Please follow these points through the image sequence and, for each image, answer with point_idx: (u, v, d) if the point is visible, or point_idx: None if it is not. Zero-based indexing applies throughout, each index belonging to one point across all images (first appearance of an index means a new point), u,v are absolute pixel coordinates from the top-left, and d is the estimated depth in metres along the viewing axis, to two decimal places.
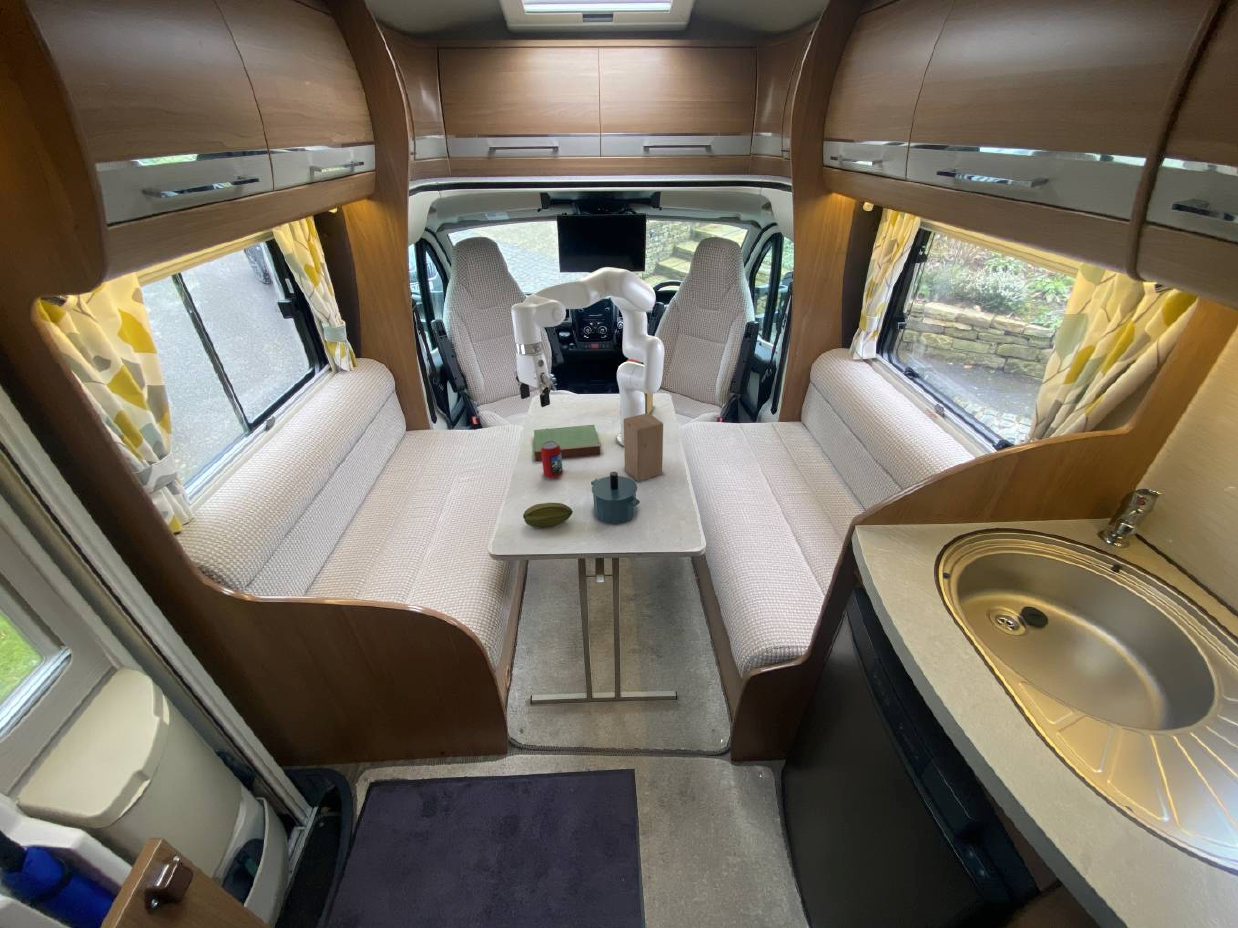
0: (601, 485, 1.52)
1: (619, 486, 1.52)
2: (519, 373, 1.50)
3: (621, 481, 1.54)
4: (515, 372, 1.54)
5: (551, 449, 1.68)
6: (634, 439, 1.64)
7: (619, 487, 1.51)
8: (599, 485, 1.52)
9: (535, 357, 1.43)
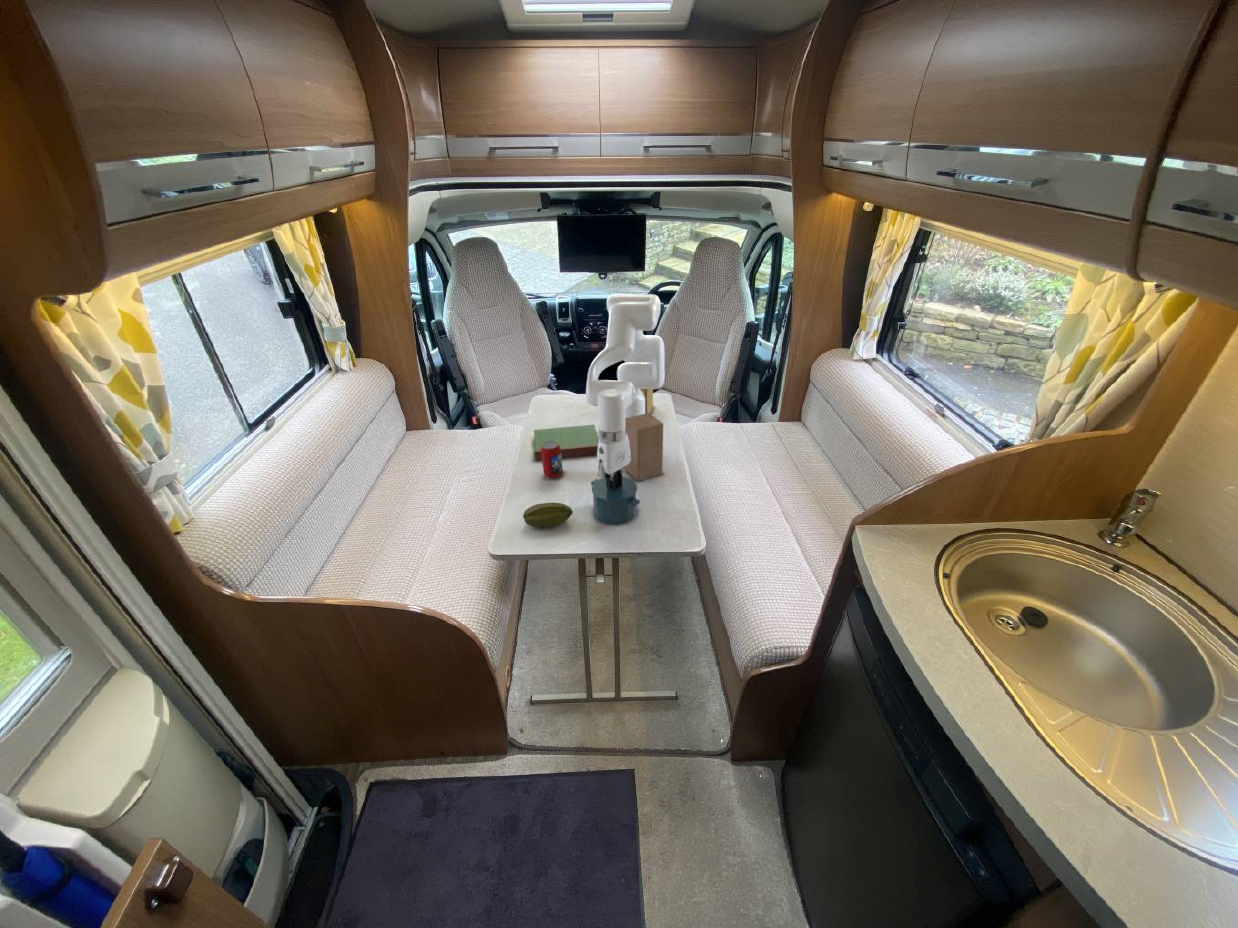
0: (601, 485, 1.52)
1: (619, 486, 1.52)
2: None
3: None
4: None
5: (551, 449, 1.68)
6: (634, 439, 1.64)
7: (619, 487, 1.51)
8: (599, 485, 1.52)
9: (599, 442, 1.41)
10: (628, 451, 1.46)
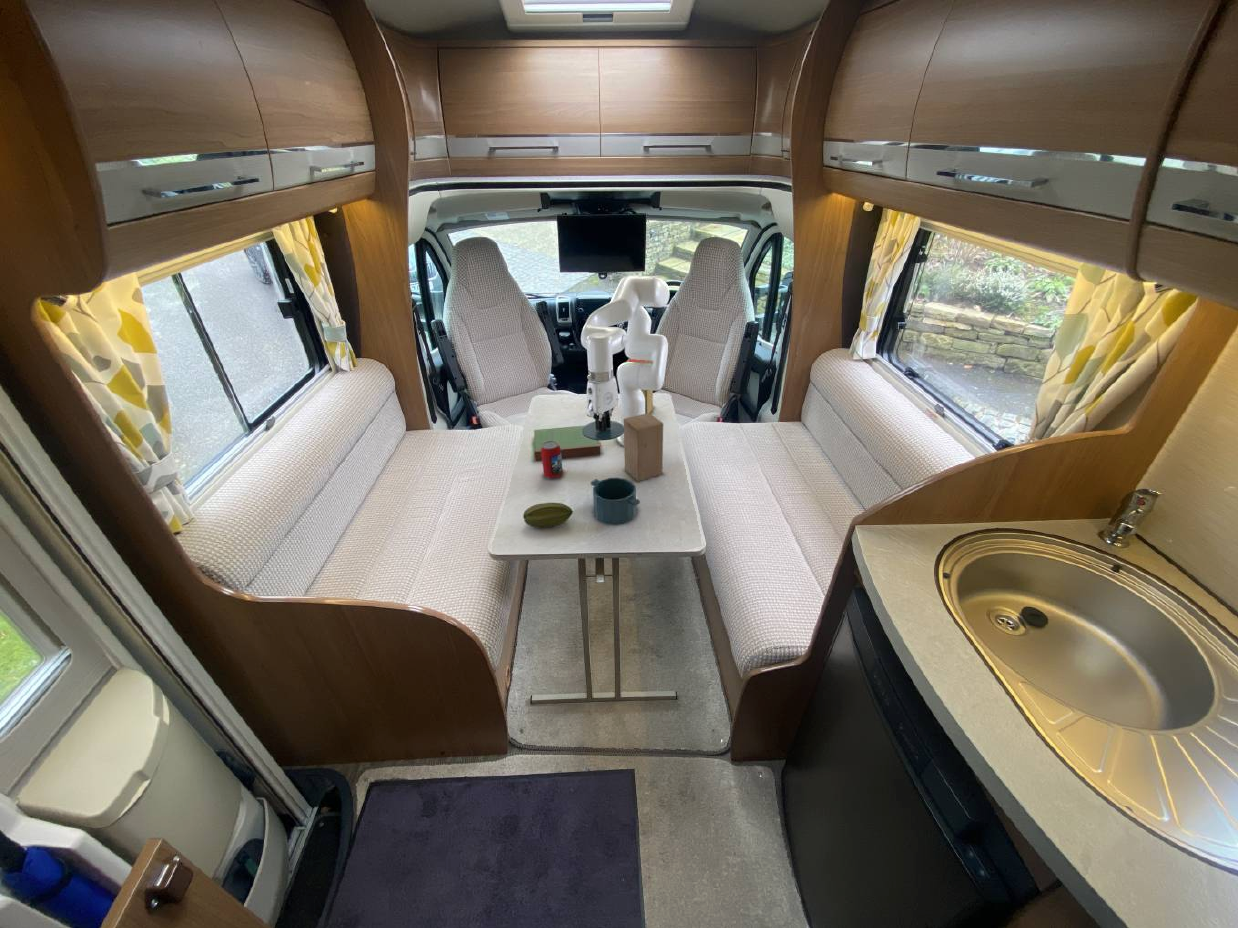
0: (591, 427, 1.62)
1: (608, 428, 1.62)
2: None
3: None
4: None
5: (551, 449, 1.68)
6: (634, 439, 1.64)
7: (608, 429, 1.61)
8: (589, 427, 1.62)
9: (588, 383, 1.51)
10: (616, 393, 1.56)
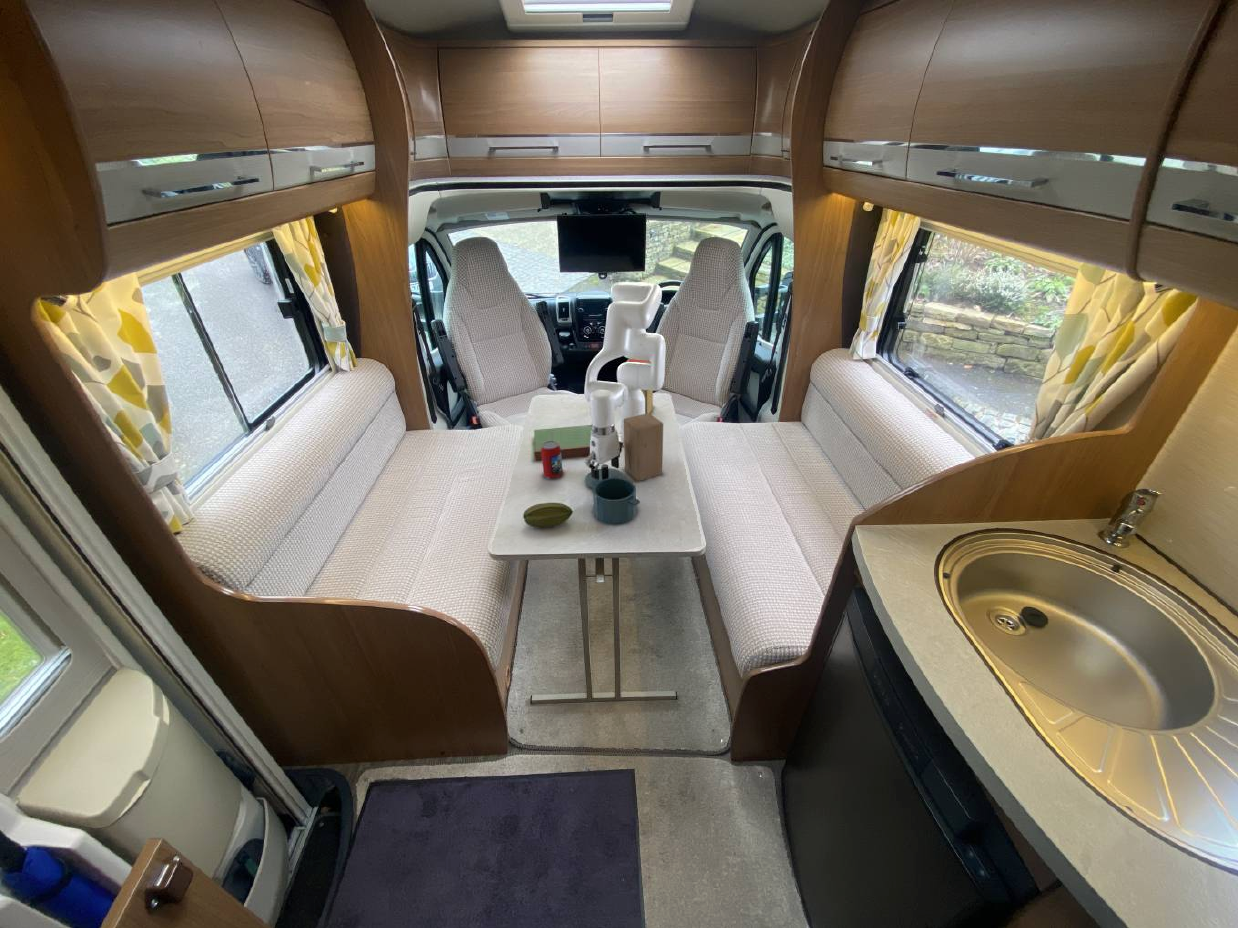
0: None
1: (609, 477, 1.71)
2: None
3: (611, 473, 1.74)
4: None
5: (551, 449, 1.68)
6: (634, 439, 1.64)
7: None
8: None
9: (591, 436, 1.61)
10: (617, 444, 1.66)
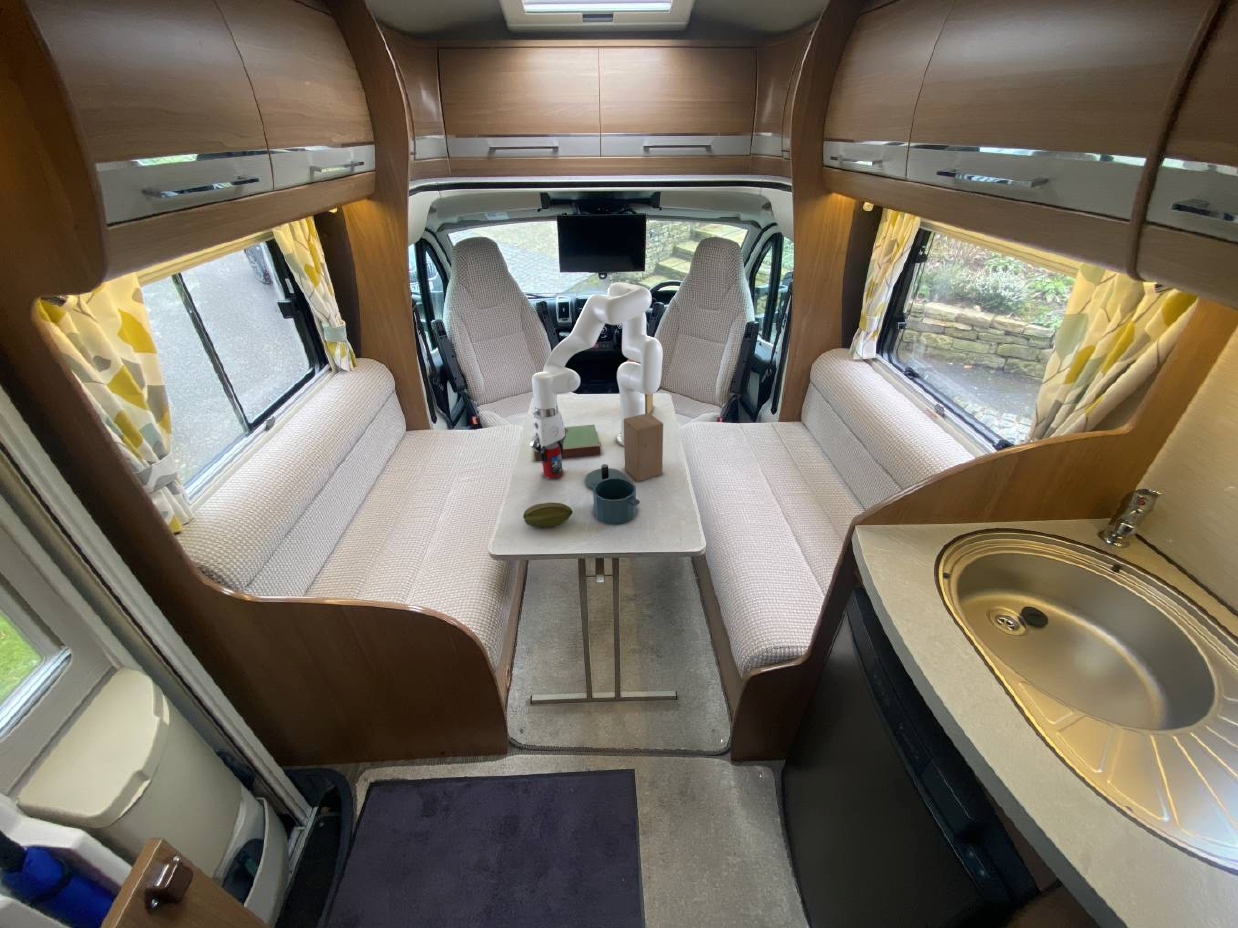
0: (593, 476, 1.72)
1: (609, 477, 1.71)
2: None
3: (611, 473, 1.74)
4: None
5: (551, 449, 1.68)
6: (634, 439, 1.64)
7: None
8: (592, 476, 1.72)
9: (534, 418, 1.63)
10: (562, 427, 1.68)
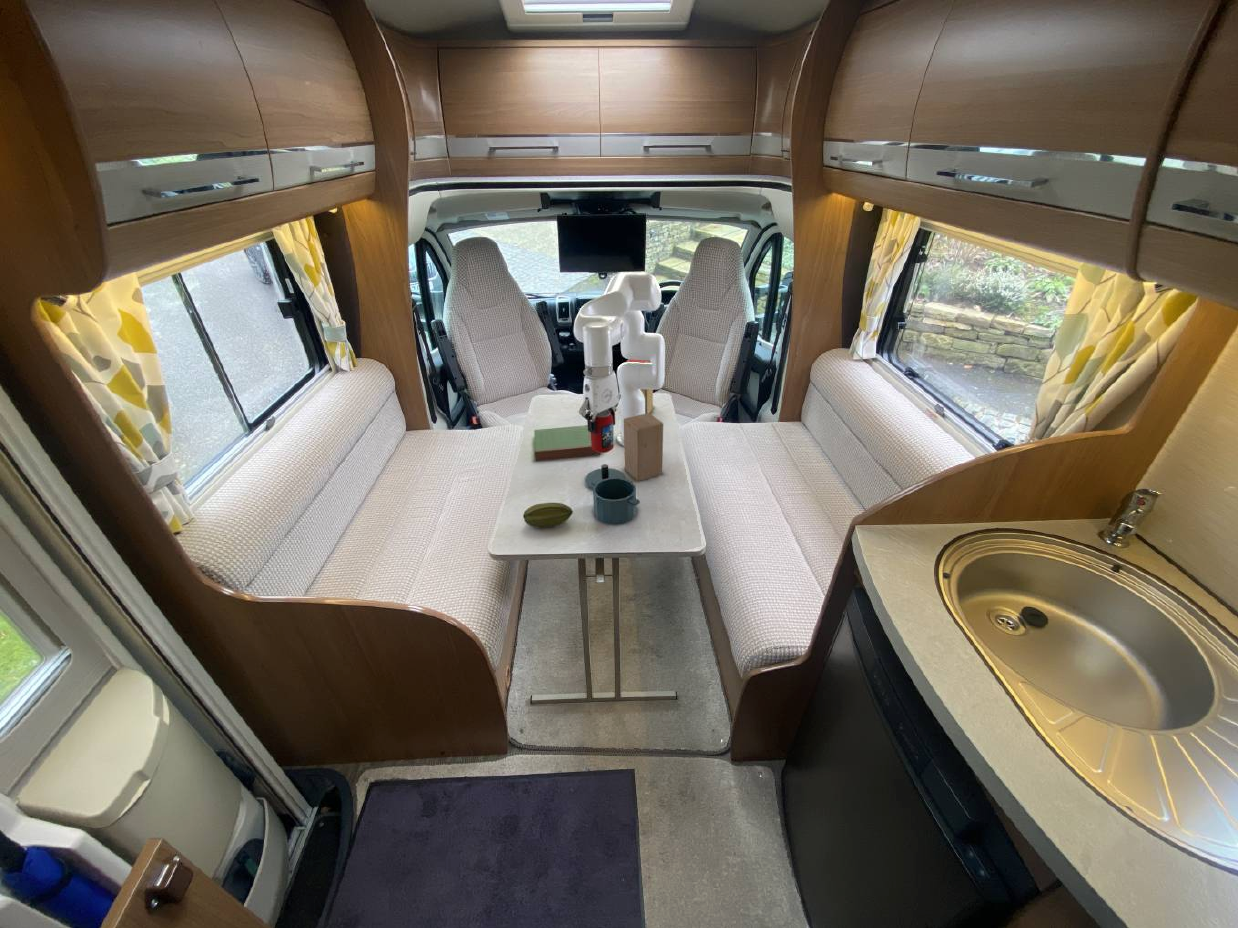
0: (593, 476, 1.72)
1: (609, 477, 1.71)
2: None
3: (611, 473, 1.74)
4: None
5: (603, 417, 1.40)
6: (634, 439, 1.64)
7: None
8: (592, 476, 1.72)
9: (584, 379, 1.35)
10: (616, 390, 1.40)
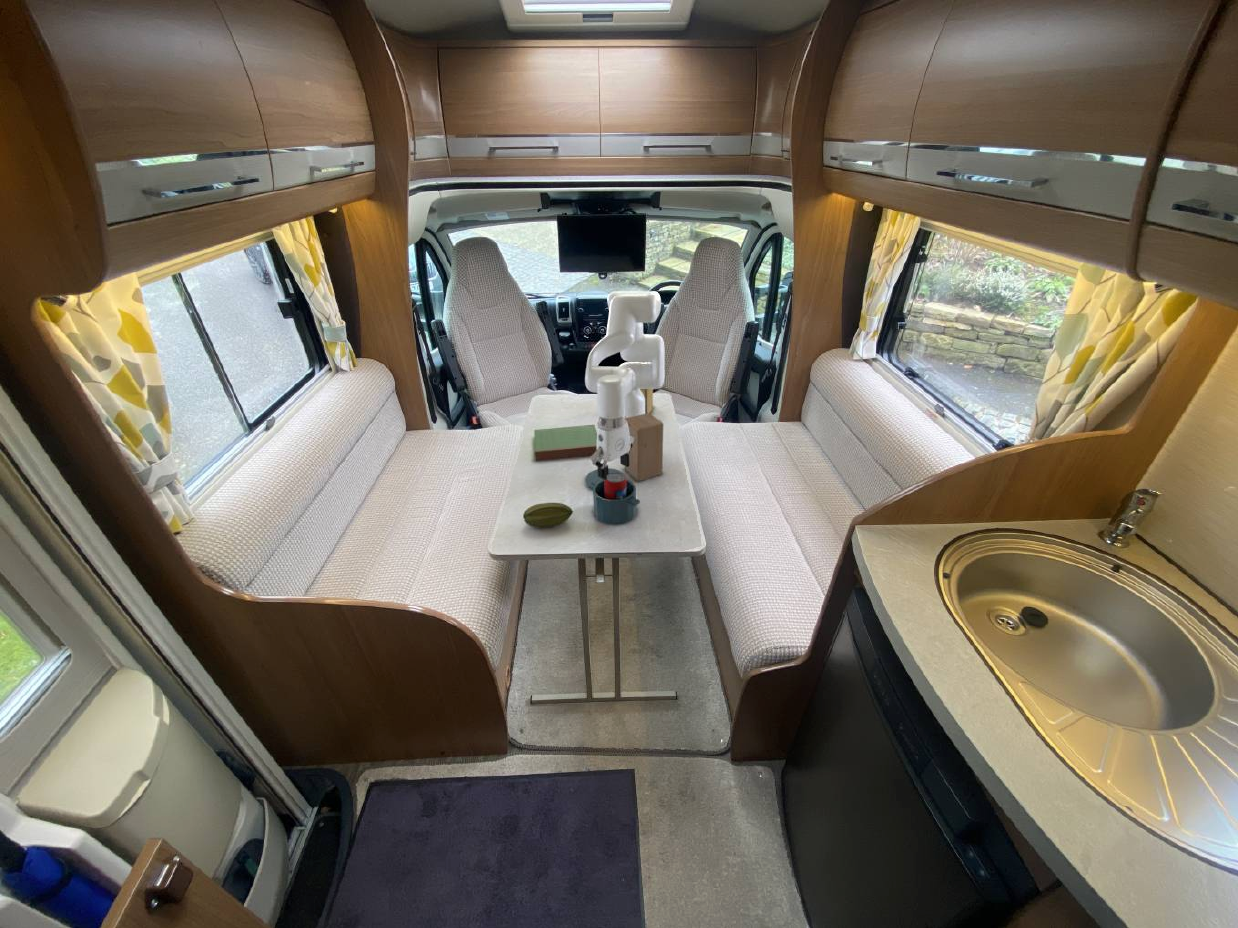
0: (593, 476, 1.72)
1: None
2: None
3: None
4: None
5: (617, 482, 1.48)
6: (634, 439, 1.64)
7: None
8: (592, 476, 1.72)
9: (598, 429, 1.39)
10: (628, 438, 1.44)
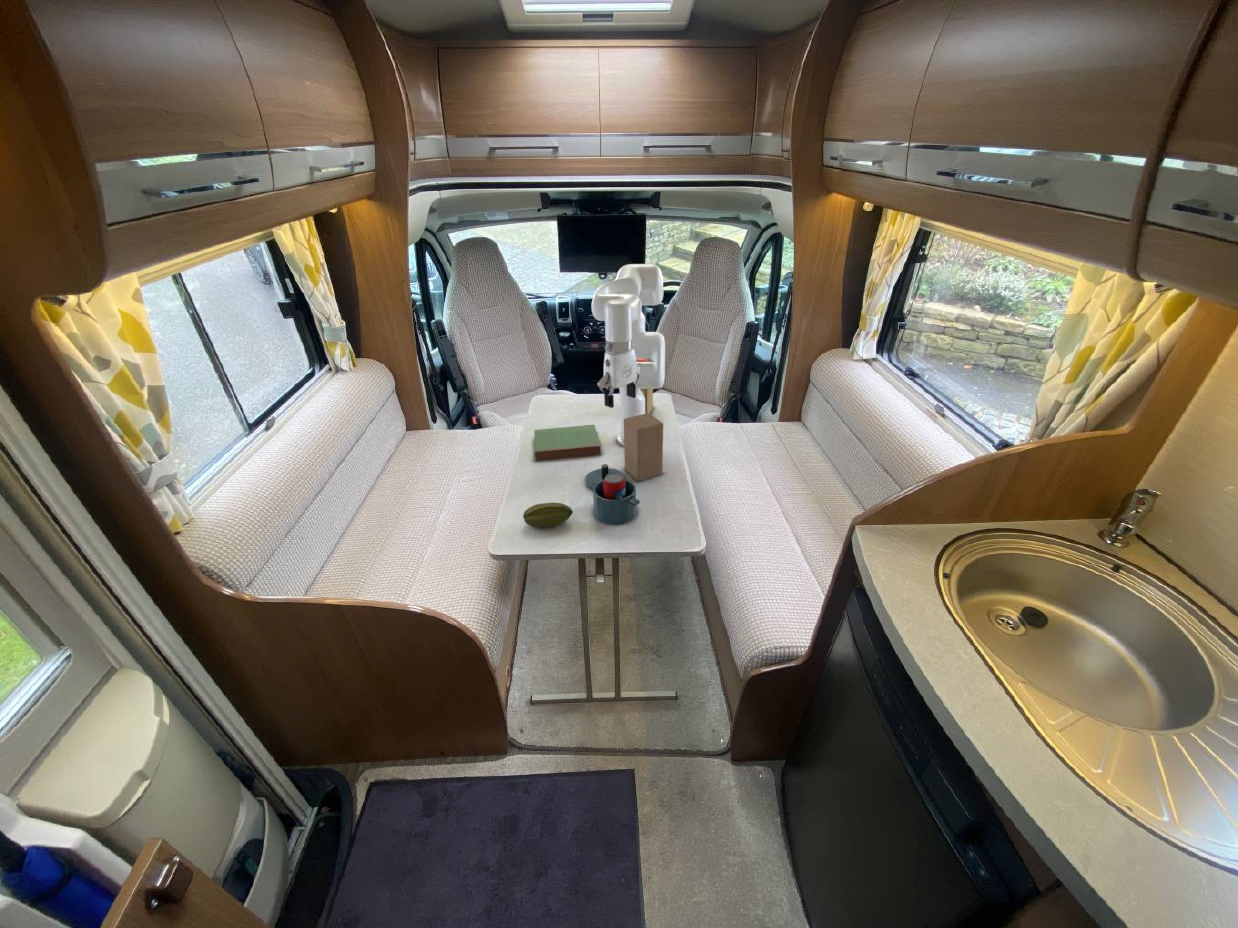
0: (593, 476, 1.72)
1: None
2: None
3: None
4: None
5: (616, 482, 1.48)
6: (634, 439, 1.64)
7: None
8: (592, 476, 1.72)
9: (605, 354, 1.40)
10: (635, 367, 1.45)
